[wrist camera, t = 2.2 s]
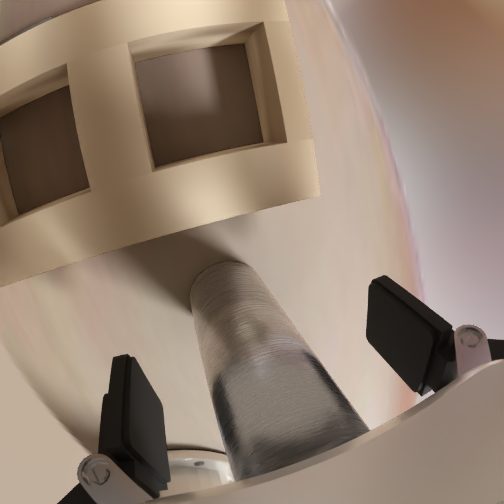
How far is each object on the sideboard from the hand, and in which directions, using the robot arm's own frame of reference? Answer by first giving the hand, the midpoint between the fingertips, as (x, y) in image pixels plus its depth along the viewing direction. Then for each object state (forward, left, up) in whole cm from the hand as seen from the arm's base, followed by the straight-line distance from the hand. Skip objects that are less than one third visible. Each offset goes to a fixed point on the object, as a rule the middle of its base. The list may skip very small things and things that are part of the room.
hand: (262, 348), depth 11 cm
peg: (-1, 0, -6) cm, 6 cm away
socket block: (+6, +8, -6) cm, 11 cm away
